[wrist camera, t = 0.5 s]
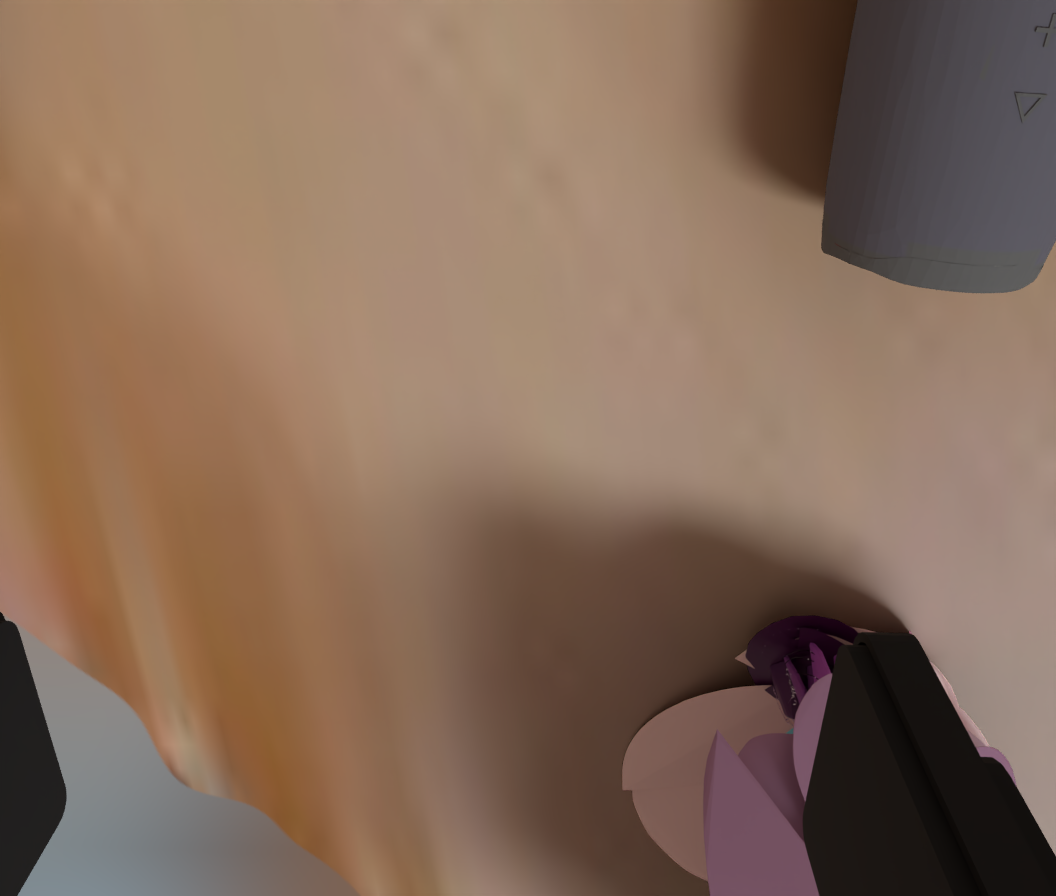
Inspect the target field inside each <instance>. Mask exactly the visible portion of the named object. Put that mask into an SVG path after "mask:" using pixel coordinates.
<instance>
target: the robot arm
mask: <svg viewBox="0 0 1056 896" xmlns="http://www.w3.org/2000/svg"><path fill="white" fill-rule="evenodd" d="M65 805H66V787H65V783H64V780H63V777H62V774H61V770H60V767H59V763H58V760H57V757H56V753H55V750H54V747H53V743H52V740H51V737H50V733H49V730H48V727H47V723H46V720H45V717H44V713H43V710H42V707H41V703H40V700H39V697H38V694H37V690H36V687H35V684H34V680H33V677H32V673H31V670H30V667H29V663H28V660H27V657H26V654H25V650H24V647H23V643H22V640H21V637H20V633H19V631H18V629H17V626H16V625H15V624H14V623H13V622H11V621H6V620H5V618H4V616H3V614H2V613H1V612H0V896H17V895H18V893H19V892H20V890H21V888H22V887H23V885H24V883H25V881H26V880H27V878H28V876H29V875H30V873H31V871H32V869H33V867H34V866H35V864H36V863H37V861H38V859H39V857H40V856H41V854H42V852H43V850H44V849H45V847H46V845H47V844H48V842H49V840H50V838H51V837H52V835H53V833H54V832H55V830H56V828H57V826H58V825H59V822H60V821H61V819H62V816H63V813H64V810H65ZM803 836H804V842H805V847H806V850H807V854H808V857H809V861H810V864H811V868H812V872H813V875H814V879H815V882H816V886H817V889H818V893H819V896H1056V856H1055V854H1054V853H1053V851H1052V849H1051V847H1050V846H1049V844H1048V842H1047V840H1046V838H1045V837H1044V835H1043V833H1042V831H1041V829H1040V828H1039V826H1038V824H1037V822H1036V821H1035V819H1034V817H1033V815H1032V813H1031V812H1030V810H1029V808H1028V806H1027V805H1026V803H1025V801H1024V799H1023V797H1022V796H1021V794H1020V792H1019V790H1018V789H1017V787H1016V785H1015V783H1014V781H1013V780H1012V778H1011V776H1010V775H1009V773H1008V772H1007V770H1006V769H1005V768H1004V766H1003V765H1002V764H1001V763H1000V762H999V761H997V760H996V759H994V758H993V757H981V756H980V754H979V752H978V751H977V749H976V747H975V745H974V743H973V741H972V739H971V738H970V736H969V734H968V732H967V730H966V728H965V726H964V725H963V723H962V721H961V719H960V717H959V715H958V713H957V712H956V710H955V708H954V706H953V704H952V702H951V700H950V699H949V697H948V695H947V693H946V691H945V689H944V687H943V685H942V684H941V682H940V680H939V678H938V676H937V674H936V672H935V671H934V669H933V667H932V665H931V663H930V661H929V659H928V658H927V656H926V654H925V652H924V650H923V648H922V646H921V645H920V643H919V641H918V640H917V638H916V637H915V636H914V635H912V634H910V633H877V632H861V633H858V635H857V636H856V637H855V640H854V643H853V645H841V646H840V647H839V649H838V652H837V655H836V660H835V665H834V669H833V674H832V679H831V684H830V688H829V693H828V698H827V702H826V707H825V712H824V716H823V721H822V726H821V731H820V735H819V740H818V745H817V749H816V754H815V759H814V763H813V768H812V773H811V777H810V782H809V787H808V792H807V796H806V801H805V806H804V811H803Z"/></svg>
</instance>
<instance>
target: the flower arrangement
mask: <svg viewBox="0 0 1056 896" xmlns="http://www.w3.org/2000/svg"><path fill="white" fill-rule="evenodd" d="M861 632H874V631H870V630H866V629H860V628H854V627H849V626H848V625H846V624H844V623H842V622H840V621H838V620H834V619H830V618H825V617H820V616H815V615H814V616H791V617H789V618H786V619H783V620H780V621H777V622H774V623H772V624H770V625H769V626H767V627H766V628H764V629H763V630H761V631H760V632H758V633H757V634H756V635H755V636H754V637H753V638H752V640H751V641H750V642H749V644H748V647H747V650H745V651H744V652H742V653H741V654H740V655H738V656H737V657H736V658H735V659H736V660H738V661H740V662H742V663H744V664H746V665H747V668H748V671H749V673H750V675H751V677H752V679H753V681H754V682H755V684H756V685H757V686H745V687H737V688H730V689H724V690H719V691H715V692H711V693H707V694H703V695H700V696H696V697H694V698H691V699H688V700H685V701H683V702H681V703H679V704H676V705H674V706H672V707H670V708H668V709H666V710H665V711H663V712H661V713H660V714H658V715H657V716H655V717H654V718H653V719H651V720H650V721H649V722H648V723H646V724H645V725H644V726H643V727H642V728H641V729H640V730H639V731H638V733H637V734H636V735H635V737H634V738H633V739H632V741H631V743H630V744H629V746H628V749H627V751H626V754H625V757H624V761H623V767H622V788H623V791H625V790H632V796H633V802H634V806H635V809H636V811H637V813H638V815H639V818H640V820H641V822H642V824H643V826H644V827H645V829H646V831H647V832H648V834H649V835H650V837H651V838H652V839H653V840H654V841H655V843H656V844H657V845H658V846H659V847H660V848H661V849H662V850H663V851H664V852H665V853H667V854H668V855H669V856H670V857H671V858H672V859H673V860H674V861H675V862H676V863H677V864H678V865H680V866H681V867H682V868H683V869H685V870H686V871H688V872H689V873H691V874H693V875H695V876H697V877H699V878H701V879H703V880H705V881H707V882H708V884H709V892H710V896H819V893H818V889H817V886H816V882H815V879H814V875H813V872H812V868H811V864H810V861H809V857H808V854H807V850H806V847H805V842H804V836H803V811H804V806H805V801H806V796H807V792H808V787H809V782H810V777H811V773H812V768H813V763H814V759H815V754H816V749H817V745H818V740H819V735H820V731H821V726H822V721H823V716H824V712H825V707H826V702H827V698H828V693H829V688H830V684H831V679H832V674H833V669H834V665H835V660H836V655H837V652H838V649H839V647H840V646H841V645H853V643H854V640H855V637H856V636H857V635H858V633H861ZM909 633H910V634H912V633H911V631H909ZM930 663H931V665H932V667H933V669H934V671H935V672H936V674H937V676H938V678H939V680H940V682H941V684H942V685H943V687H944V689H945V691H946V693H947V695H948V697H949V699H950V700H951V702H952V704H953V706H954V708H955V710H956V712H957V713H958V715H959V717H960V719H961V721H962V723H963V725H964V726H965V728H966V730H967V732H968V734H969V736H970V738H971V739H972V741H973V743H974V745H975V747H976V749H977V751H978V752H979V754H980V756H981V757H993V758H994V759H996V760H997V761H999V762H1000V763H1001V764H1002V765H1003V766H1004V768H1005V769H1006V770H1007V772H1008V773H1009V775H1010V776H1011V778H1012V780H1013V781H1014V783H1015V785H1016V781H1015V777H1014V774H1013V770H1012V768H1011V766H1010V764H1009V761H1008V760H1007V759H1006V757H1005V756H1004V755H1003V754H1002V753H1001V752H1000V751H999V750H997V749H995V748H993V747H990V746H989V744H988V742H987V740H986V739H985V737H984V735H983V734H982V732H981V731H980V729H979V728H978V727H977V725H976V724H975V723H974V722H973V720H972V719H971V718H970V717H969V715H968V714H967V713H966V712H965V711H964V710H963V709H962V708H961V707H960V706H959V705H958V701H957V698H956V696H955V693H954V691H953V689H952V687H951V685H950V684H949V682H948V681H947V679H946V678H945V676H944V675H943V674H942V673H941V672H940V670H939V669H938V668H937V667H936V666H935V665H934V664H933V663H932V662H931V661H930ZM1016 787H1017V786H1016Z"/></svg>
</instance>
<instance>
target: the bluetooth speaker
mask: <svg viewBox="0 0 1056 896" xmlns="http://www.w3.org/2000/svg"><path fill="white" fill-rule="evenodd" d="M1055 241H1056V0H858V2H857V8H856V13H855V19H854V24H853V29H852V35H851V40H850V46H849V51H848V57H847V63H846V69H845V75H844V81H843V86H842V92H841V98H840V104H839V110H838V116H837V122H836V128H835V134H834V140H833V147H832V153H831V159H830V166H829V172H828V178H827V185H826V194H825V203H824V215H823V223H822V243H821V248H822V251H823V252H824V253H826V254H829V255H831V256H834V257H836V258H839V259H841V260H843V261H845V262H847V263H849V264H852V265H855V266H858V267H860V268H863V269H866V270H869V271H872V272H874V273H876V274H879V275H881V276H883V277H886V278H888V279H890V280H893V281H896V282H899V283H902V284H906V285H911V286H916V287H922V288H929V289H936V290H944V291H953V292H965V293H1004V292H1011V291H1016V290H1019V289H1021V288H1023V287H1025V286H1027V285H1029V284H1030V283H1032V282H1033V281H1034V280H1035V279H1036V278H1037V276H1038V274H1039V273H1040V271H1041V269H1042V267H1043V265H1044V263H1045V261H1046V259H1047V257H1048V255H1049V253H1050V251H1051V249H1052V247H1053V245H1054V243H1055Z"/></svg>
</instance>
